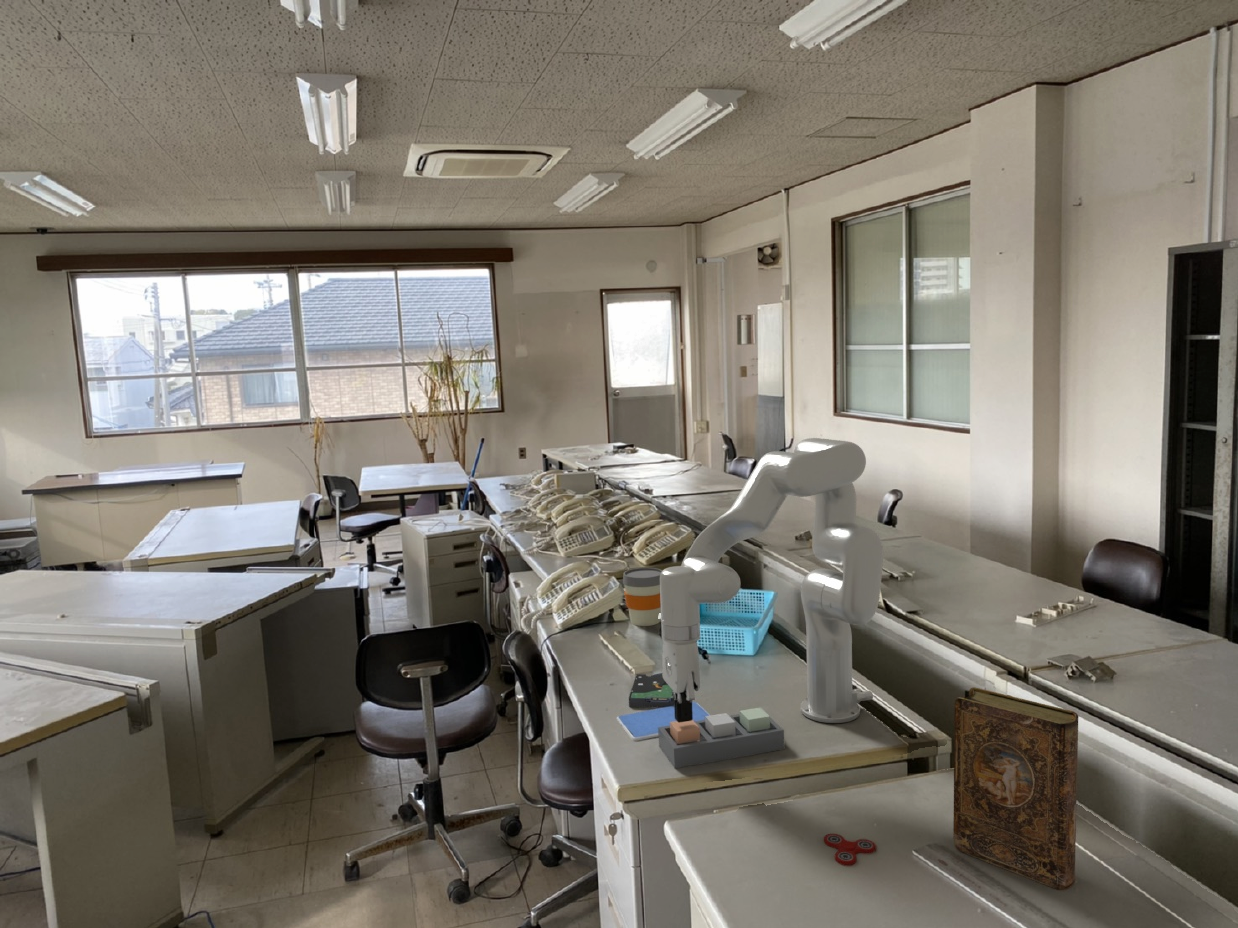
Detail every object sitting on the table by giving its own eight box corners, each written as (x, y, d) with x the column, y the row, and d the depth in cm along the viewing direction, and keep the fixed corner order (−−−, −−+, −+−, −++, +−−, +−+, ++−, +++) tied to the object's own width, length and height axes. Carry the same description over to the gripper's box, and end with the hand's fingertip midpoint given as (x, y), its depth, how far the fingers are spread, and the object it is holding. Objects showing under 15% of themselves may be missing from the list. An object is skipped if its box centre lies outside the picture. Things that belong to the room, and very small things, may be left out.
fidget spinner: (821, 840, 136) (821, 832, 136) (864, 835, 137) (864, 827, 137) (839, 869, 129) (839, 861, 128) (885, 864, 129) (885, 856, 129)
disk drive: (636, 684, 206) (628, 709, 191) (635, 673, 205) (628, 697, 191) (678, 685, 204) (674, 709, 190) (678, 673, 204) (673, 697, 189)
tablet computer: (633, 744, 174) (633, 738, 174) (615, 720, 186) (614, 714, 186) (719, 727, 179) (718, 722, 179) (696, 705, 191) (695, 700, 191)
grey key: (726, 724, 172) (726, 712, 171) (735, 733, 167) (735, 721, 167) (705, 728, 170) (705, 716, 170) (713, 737, 166) (713, 725, 166)
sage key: (760, 718, 173) (760, 707, 173) (770, 728, 169) (769, 716, 169) (739, 722, 172) (739, 710, 172) (748, 731, 168) (748, 719, 168)
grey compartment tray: (763, 728, 177) (762, 710, 176) (784, 749, 167) (783, 729, 167) (658, 745, 171) (658, 727, 171) (674, 768, 162) (673, 748, 161)
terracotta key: (692, 730, 170) (691, 718, 169) (700, 739, 165) (699, 727, 165) (670, 733, 168) (669, 722, 168) (677, 743, 164) (677, 731, 164)
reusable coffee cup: (663, 613, 259) (661, 566, 257) (668, 626, 247) (666, 576, 245) (623, 616, 259) (621, 568, 257) (626, 629, 246) (623, 579, 244)
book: (1079, 875, 124) (1083, 713, 121) (1066, 893, 120) (1070, 726, 117) (968, 834, 135) (969, 685, 132) (953, 849, 131) (953, 696, 128)
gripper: (651, 621, 170) (654, 708, 173) (674, 644, 156) (678, 738, 158) (686, 617, 172) (688, 703, 174) (712, 639, 158) (715, 732, 160)
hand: (683, 719), depth 166 cm, fingers closed
